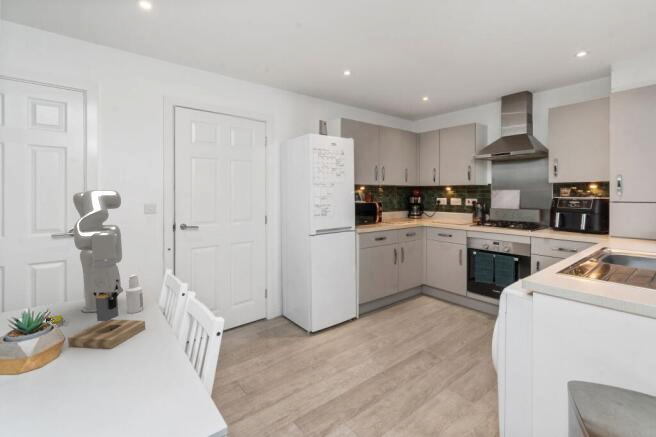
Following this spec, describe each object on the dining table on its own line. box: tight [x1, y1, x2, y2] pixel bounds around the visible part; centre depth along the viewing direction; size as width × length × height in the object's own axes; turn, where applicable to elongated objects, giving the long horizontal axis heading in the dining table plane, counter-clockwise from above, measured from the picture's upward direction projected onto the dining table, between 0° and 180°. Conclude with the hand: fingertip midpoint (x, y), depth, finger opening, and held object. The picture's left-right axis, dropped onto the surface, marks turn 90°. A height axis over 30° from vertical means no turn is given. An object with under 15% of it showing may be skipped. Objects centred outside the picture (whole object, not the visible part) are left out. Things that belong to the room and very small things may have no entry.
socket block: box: [67, 318, 146, 350], centre depth 127 cm, size 18×18×4 cm
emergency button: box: [46, 314, 70, 328], centre depth 138 cm, size 9×4×15 cm
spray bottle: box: [125, 274, 144, 314], centre depth 156 cm, size 7×7×18 cm
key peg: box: [96, 293, 119, 322], centre depth 126 cm, size 4×6×10 cm, turn 173°
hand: (107, 307), depth 126 cm, fingers closed on key peg, 4 cm apart
